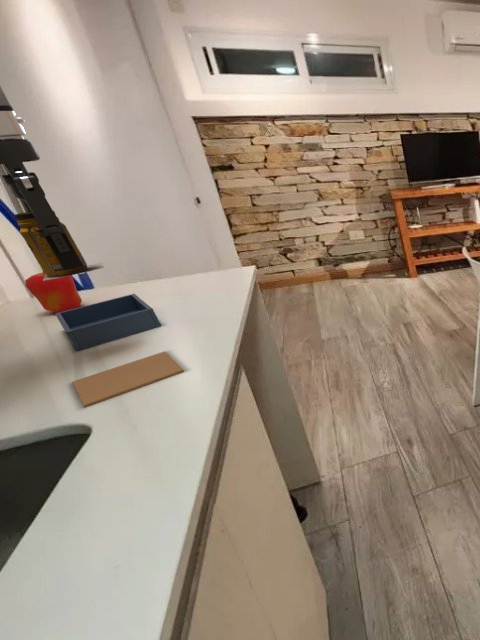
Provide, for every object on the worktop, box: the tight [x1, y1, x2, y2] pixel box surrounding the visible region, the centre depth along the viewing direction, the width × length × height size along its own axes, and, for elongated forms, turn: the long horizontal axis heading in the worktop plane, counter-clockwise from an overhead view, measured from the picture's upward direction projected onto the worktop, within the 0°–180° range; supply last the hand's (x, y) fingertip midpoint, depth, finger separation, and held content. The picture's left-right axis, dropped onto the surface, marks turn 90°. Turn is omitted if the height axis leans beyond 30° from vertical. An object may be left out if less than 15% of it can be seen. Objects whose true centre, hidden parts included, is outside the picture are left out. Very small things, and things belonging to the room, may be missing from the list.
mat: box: [71, 350, 185, 408], centre depth 89 cm, size 14×14×1 cm
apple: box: [24, 270, 83, 314], centre depth 125 cm, size 9×8×12 cm
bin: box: [54, 293, 162, 352], centre depth 112 cm, size 15×20×4 cm
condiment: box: [13, 210, 104, 281], centre depth 91 cm, size 7×8×12 cm
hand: (70, 265), depth 93 cm, fingers closed on condiment, 6 cm apart
